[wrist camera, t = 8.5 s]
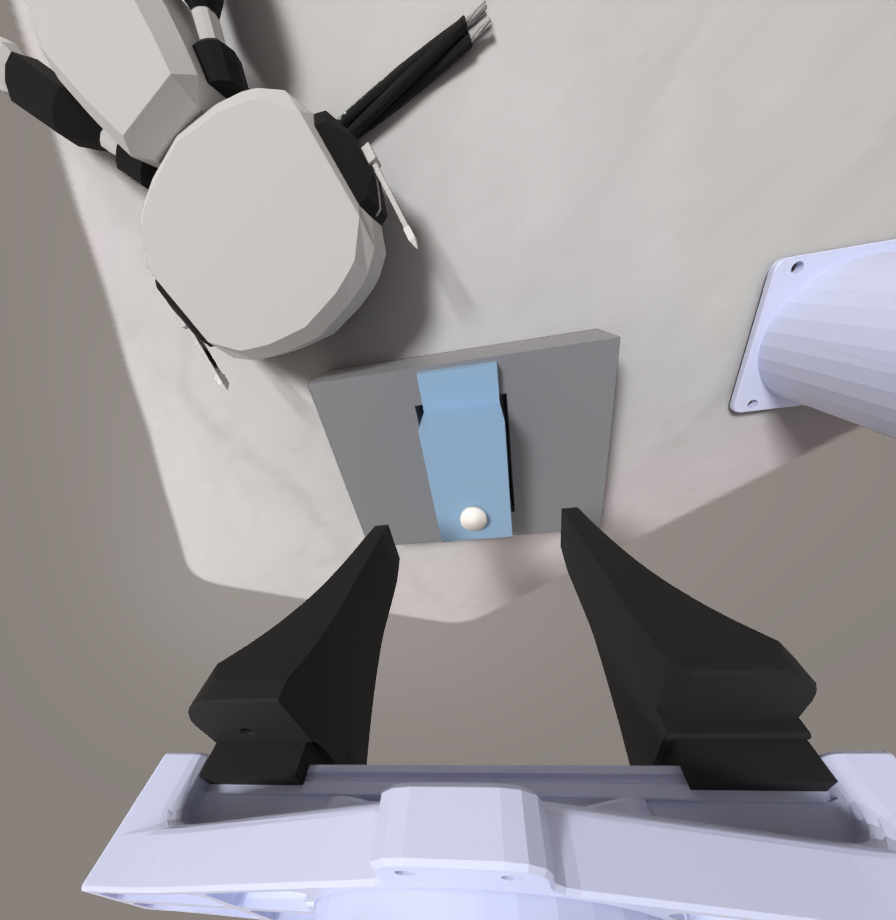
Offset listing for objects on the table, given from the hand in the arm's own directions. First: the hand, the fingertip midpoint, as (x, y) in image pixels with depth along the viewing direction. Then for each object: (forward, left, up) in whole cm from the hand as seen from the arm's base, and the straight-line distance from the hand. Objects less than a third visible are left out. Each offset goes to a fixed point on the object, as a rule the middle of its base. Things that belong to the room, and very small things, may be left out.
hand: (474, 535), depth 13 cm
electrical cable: (+3, -16, -10) cm, 19 cm away
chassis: (0, 0, -9) cm, 9 cm away
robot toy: (+9, -15, -10) cm, 20 cm away
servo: (0, 0, -9) cm, 9 cm away
